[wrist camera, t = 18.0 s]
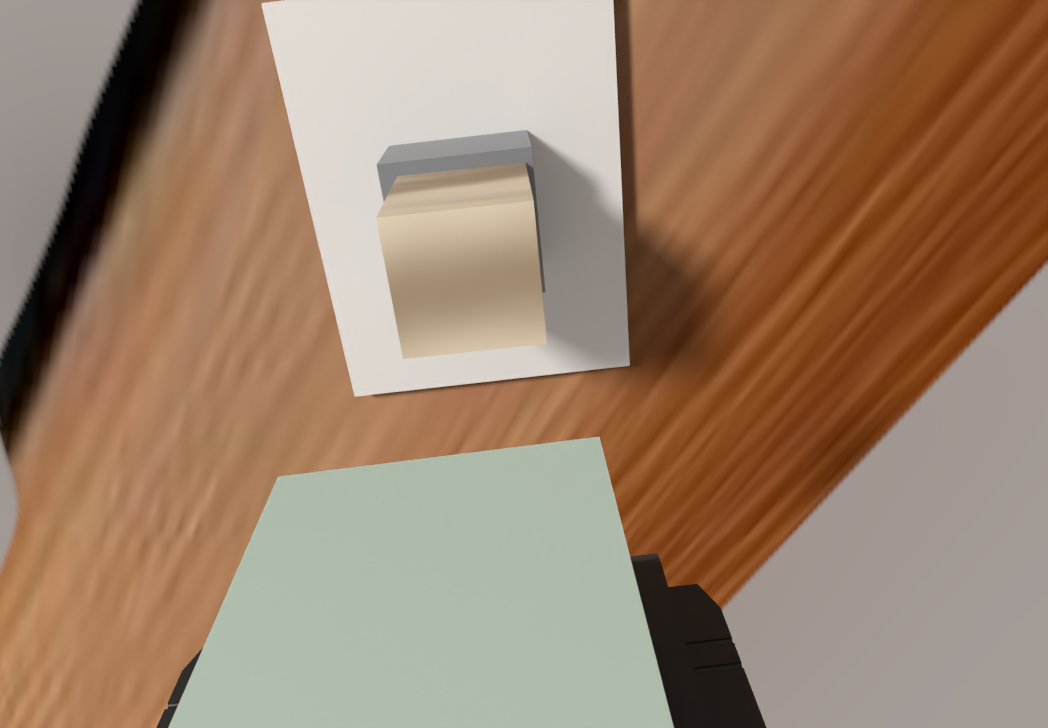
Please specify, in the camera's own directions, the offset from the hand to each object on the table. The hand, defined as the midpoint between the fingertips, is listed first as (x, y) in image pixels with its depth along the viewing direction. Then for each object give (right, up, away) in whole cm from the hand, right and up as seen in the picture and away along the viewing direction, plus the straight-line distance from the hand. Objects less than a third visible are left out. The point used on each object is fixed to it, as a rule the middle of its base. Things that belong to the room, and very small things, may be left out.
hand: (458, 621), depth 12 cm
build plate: (-2, +12, +23) cm, 25 cm away
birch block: (-1, +9, +18) cm, 20 cm away
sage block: (0, 0, +1) cm, 1 cm away
